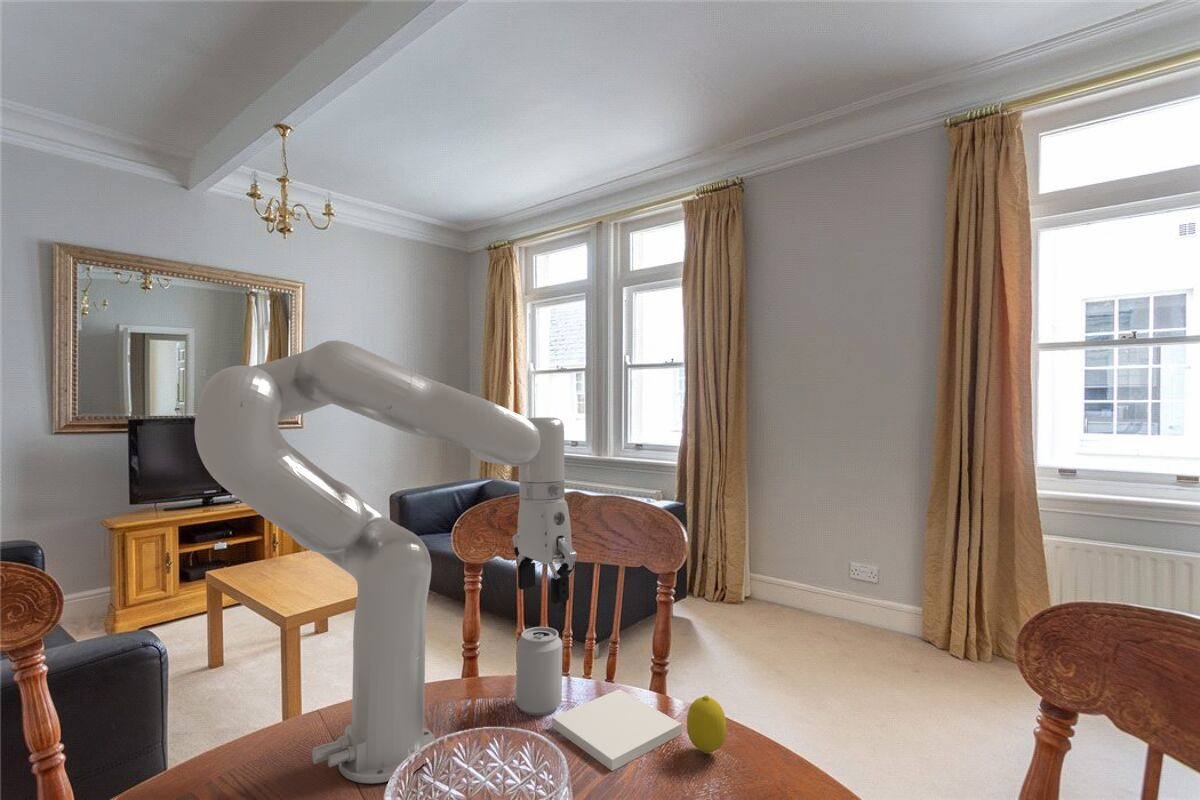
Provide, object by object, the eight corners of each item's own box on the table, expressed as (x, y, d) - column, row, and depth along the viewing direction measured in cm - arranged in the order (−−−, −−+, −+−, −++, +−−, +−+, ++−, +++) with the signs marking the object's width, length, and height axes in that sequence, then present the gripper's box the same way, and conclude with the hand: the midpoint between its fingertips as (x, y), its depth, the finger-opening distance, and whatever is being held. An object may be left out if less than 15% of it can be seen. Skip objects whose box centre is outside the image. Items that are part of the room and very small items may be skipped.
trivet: (612, 771, 75) (612, 759, 75) (551, 726, 86) (552, 716, 86) (681, 733, 84) (681, 723, 84) (619, 698, 95) (619, 689, 95)
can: (566, 697, 95) (567, 625, 96) (555, 720, 88) (556, 643, 88) (524, 693, 97) (524, 622, 97) (509, 715, 89) (510, 639, 90)
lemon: (726, 767, 76) (726, 708, 77) (685, 762, 77) (685, 703, 78) (725, 744, 82) (725, 689, 82) (687, 740, 83) (687, 685, 83)
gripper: (592, 494, 89) (593, 602, 89) (532, 484, 103) (533, 578, 102) (553, 499, 85) (554, 613, 84) (496, 488, 98) (496, 587, 97)
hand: (542, 594), depth 93 cm, fingers open, 9 cm apart
